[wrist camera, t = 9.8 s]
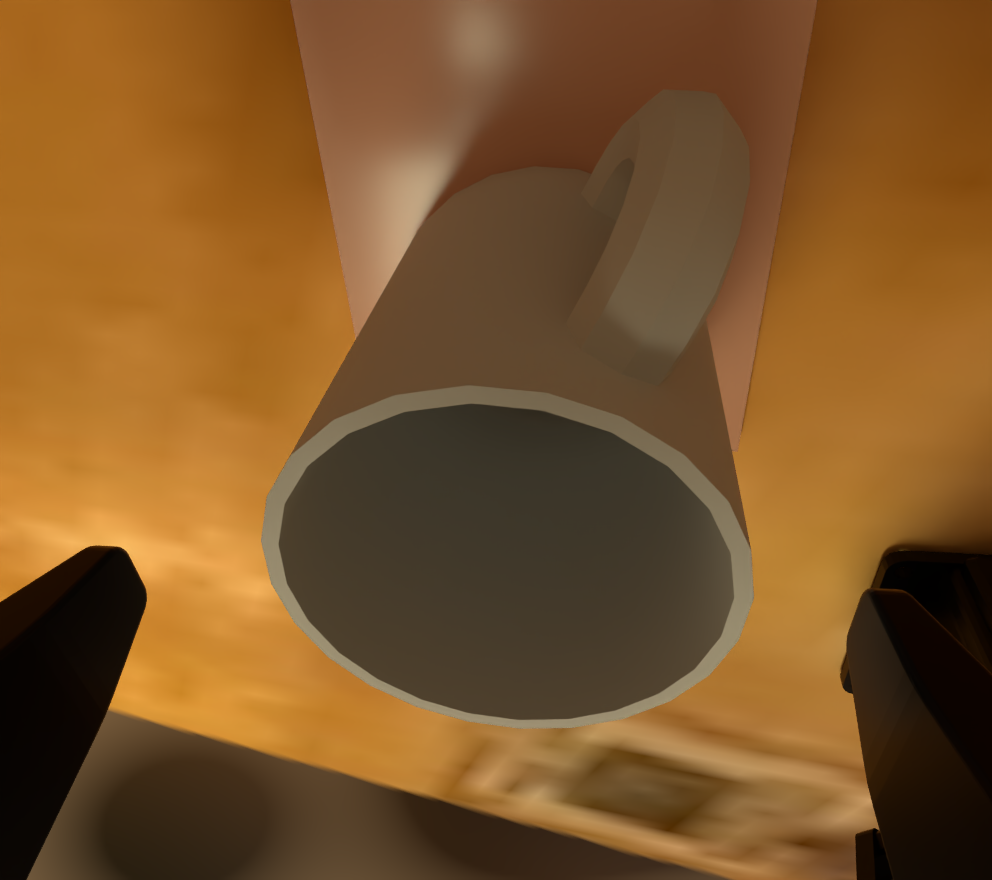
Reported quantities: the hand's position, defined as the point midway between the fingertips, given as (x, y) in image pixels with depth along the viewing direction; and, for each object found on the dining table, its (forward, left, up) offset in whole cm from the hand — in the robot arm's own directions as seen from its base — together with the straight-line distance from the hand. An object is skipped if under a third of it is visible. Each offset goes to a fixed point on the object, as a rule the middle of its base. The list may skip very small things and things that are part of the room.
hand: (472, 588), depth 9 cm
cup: (0, -1, -10) cm, 10 cm away
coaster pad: (0, 0, -11) cm, 11 cm away
